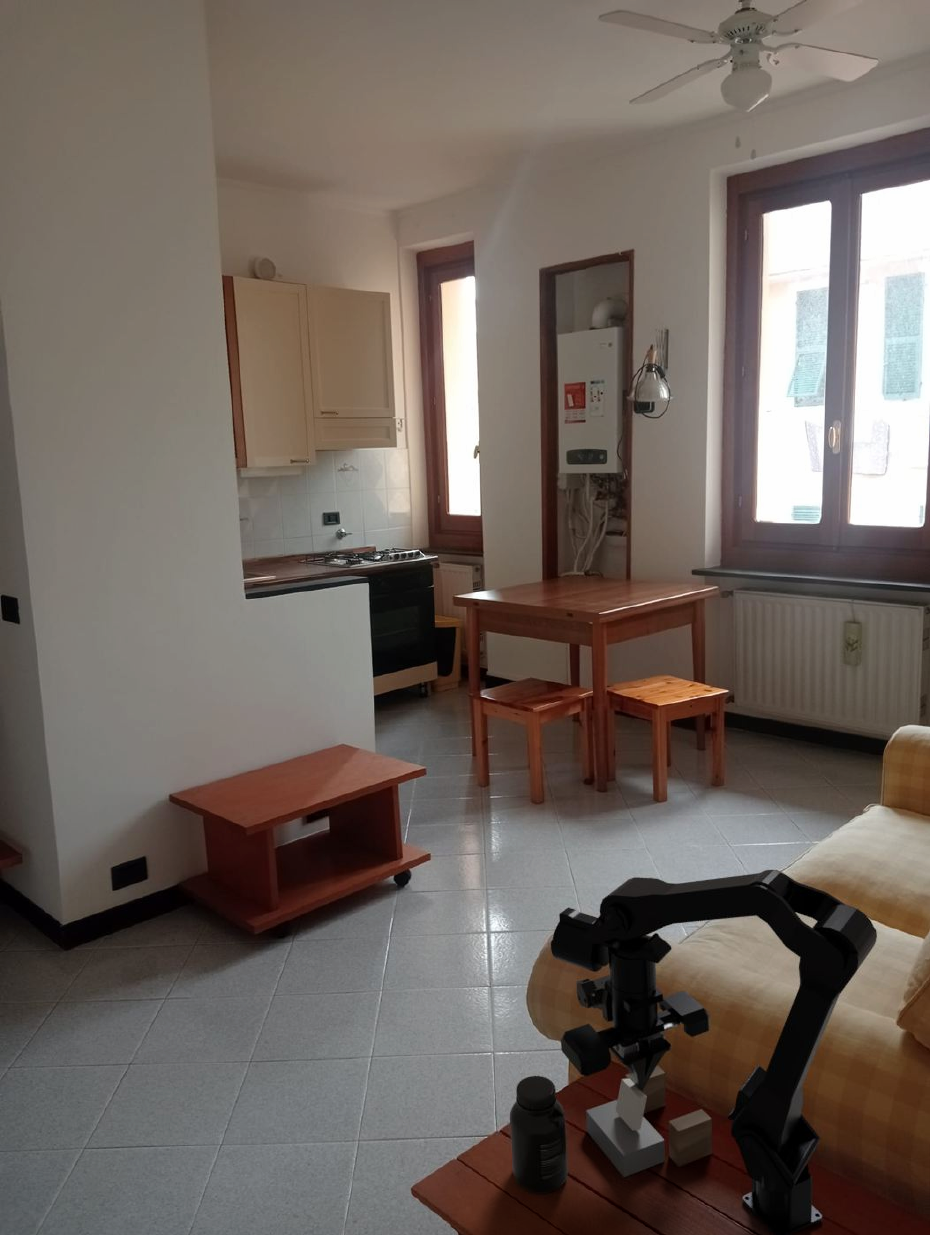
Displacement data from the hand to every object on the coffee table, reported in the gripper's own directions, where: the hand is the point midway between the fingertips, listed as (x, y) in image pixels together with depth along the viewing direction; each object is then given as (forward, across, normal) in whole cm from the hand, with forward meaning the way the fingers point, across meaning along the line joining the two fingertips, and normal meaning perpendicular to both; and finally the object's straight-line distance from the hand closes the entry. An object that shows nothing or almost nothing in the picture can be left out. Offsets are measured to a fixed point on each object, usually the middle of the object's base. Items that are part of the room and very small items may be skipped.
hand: (639, 1089), depth 122 cm
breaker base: (+7, +3, 0) cm, 8 cm away
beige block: (+7, -4, +5) cm, 10 cm away
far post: (+8, -4, -5) cm, 10 cm away
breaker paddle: (+4, +2, 0) cm, 4 cm away
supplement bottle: (+7, +15, 0) cm, 16 cm away
